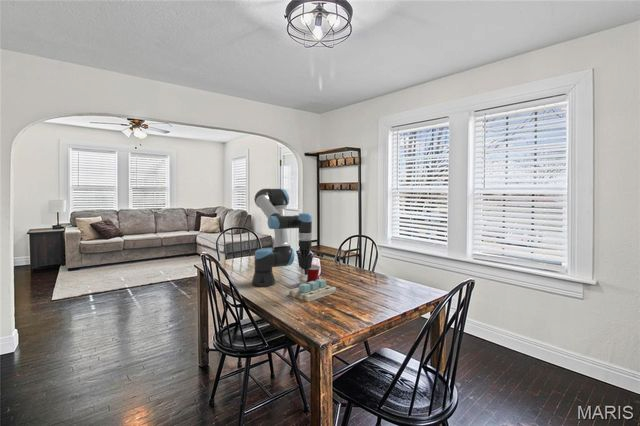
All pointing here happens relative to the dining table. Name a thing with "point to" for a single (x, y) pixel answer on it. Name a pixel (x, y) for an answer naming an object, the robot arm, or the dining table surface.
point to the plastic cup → (313, 273)
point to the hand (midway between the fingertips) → (304, 279)
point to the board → (312, 293)
